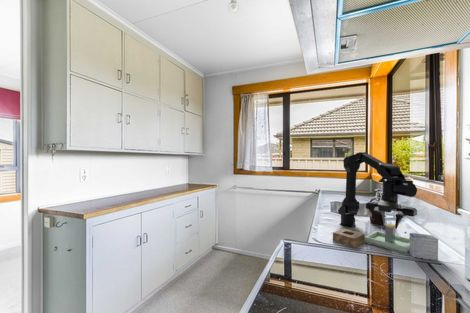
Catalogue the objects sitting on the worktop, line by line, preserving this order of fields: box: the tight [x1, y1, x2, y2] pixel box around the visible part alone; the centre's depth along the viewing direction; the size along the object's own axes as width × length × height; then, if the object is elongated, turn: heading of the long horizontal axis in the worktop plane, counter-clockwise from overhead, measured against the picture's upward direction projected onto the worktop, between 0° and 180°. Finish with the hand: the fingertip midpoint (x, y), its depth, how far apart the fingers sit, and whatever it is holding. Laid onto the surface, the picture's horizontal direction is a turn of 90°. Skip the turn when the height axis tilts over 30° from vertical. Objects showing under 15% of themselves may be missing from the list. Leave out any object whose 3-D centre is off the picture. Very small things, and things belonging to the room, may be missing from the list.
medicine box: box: [408, 232, 439, 261], centre depth 90 cm, size 8×4×9 cm, turn 71°
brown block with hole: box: [332, 228, 365, 248], centre depth 106 cm, size 10×10×4 cm
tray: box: [364, 230, 410, 255], centre depth 103 cm, size 16×14×2 cm
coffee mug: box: [368, 209, 383, 226], centre depth 132 cm, size 12×9×10 cm
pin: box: [384, 222, 397, 244], centre depth 103 cm, size 3×3×8 cm
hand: (389, 227), depth 103 cm, fingers open, 5 cm apart
